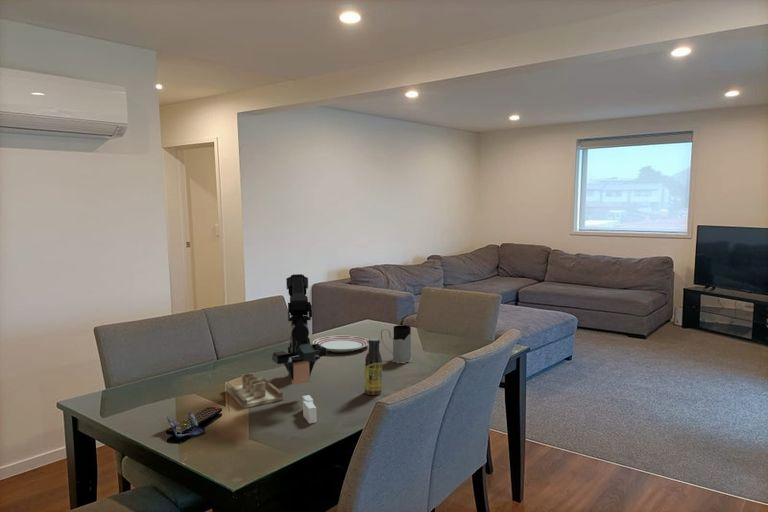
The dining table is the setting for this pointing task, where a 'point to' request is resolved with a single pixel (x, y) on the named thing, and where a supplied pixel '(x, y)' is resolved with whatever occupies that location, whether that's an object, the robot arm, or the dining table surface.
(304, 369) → the pink clay brick
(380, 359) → the sauce bottle
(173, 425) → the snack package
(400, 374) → the dining table surface
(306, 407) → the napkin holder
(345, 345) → the dinner plate
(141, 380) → the dining table surface
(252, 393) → the dish rack
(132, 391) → the dining table surface
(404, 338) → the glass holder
